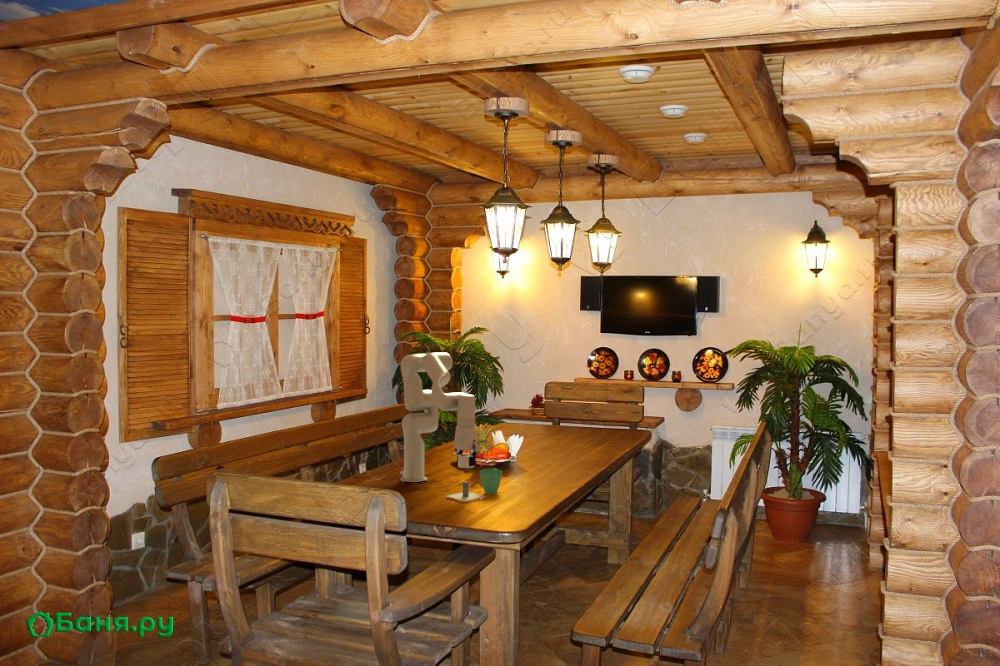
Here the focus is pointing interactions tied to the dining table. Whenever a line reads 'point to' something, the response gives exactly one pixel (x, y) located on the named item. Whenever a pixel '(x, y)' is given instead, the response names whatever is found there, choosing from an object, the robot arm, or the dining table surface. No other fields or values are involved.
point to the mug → (490, 480)
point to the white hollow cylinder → (464, 461)
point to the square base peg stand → (465, 494)
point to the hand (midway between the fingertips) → (466, 464)
